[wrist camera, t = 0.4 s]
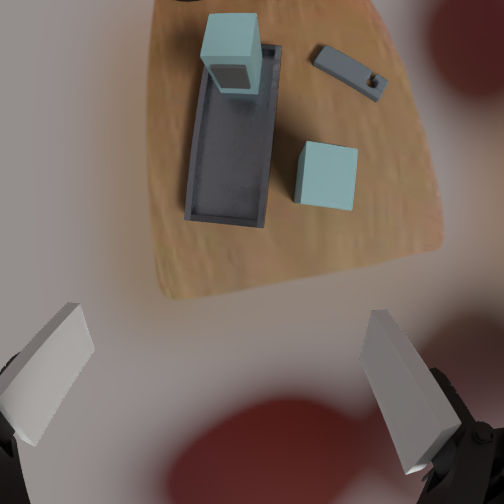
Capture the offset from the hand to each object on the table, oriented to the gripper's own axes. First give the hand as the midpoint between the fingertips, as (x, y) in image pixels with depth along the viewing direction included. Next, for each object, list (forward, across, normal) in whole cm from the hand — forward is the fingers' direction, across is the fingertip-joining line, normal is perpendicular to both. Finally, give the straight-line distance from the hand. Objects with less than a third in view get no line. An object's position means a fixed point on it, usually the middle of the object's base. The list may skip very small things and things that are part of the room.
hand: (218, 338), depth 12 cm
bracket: (+30, +15, +20) cm, 39 cm away
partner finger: (+29, 0, +18) cm, 35 cm away
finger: (+27, +10, +4) cm, 29 cm away
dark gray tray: (+29, -1, +10) cm, 31 cm away
